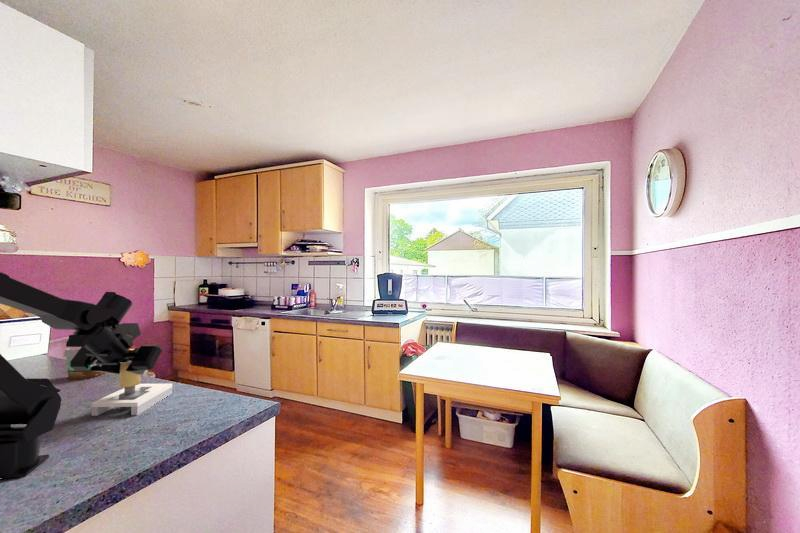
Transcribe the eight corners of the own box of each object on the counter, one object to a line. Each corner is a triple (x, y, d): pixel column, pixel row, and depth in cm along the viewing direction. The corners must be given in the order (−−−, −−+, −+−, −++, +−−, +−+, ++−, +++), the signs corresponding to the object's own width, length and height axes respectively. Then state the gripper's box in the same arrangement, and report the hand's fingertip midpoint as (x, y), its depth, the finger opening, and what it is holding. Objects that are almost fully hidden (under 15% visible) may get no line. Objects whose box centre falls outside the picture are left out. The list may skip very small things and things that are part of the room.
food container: (52, 383, 104) (53, 351, 104) (66, 376, 110) (67, 347, 110) (98, 380, 107) (99, 349, 108) (109, 374, 113) (110, 345, 114)
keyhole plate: (137, 415, 83) (137, 402, 83) (91, 415, 82) (91, 403, 82) (172, 394, 96) (172, 383, 97) (133, 394, 96) (133, 383, 96)
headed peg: (142, 398, 88) (143, 350, 88) (121, 404, 84) (123, 353, 84) (137, 395, 90) (138, 348, 90) (116, 399, 87) (118, 351, 87)
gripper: (158, 314, 84) (182, 347, 95) (82, 314, 83) (115, 347, 94) (134, 352, 76) (164, 383, 87) (49, 352, 75) (90, 384, 86)
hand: (134, 373), depth 89 cm, fingers closed on headed peg, 4 cm apart
